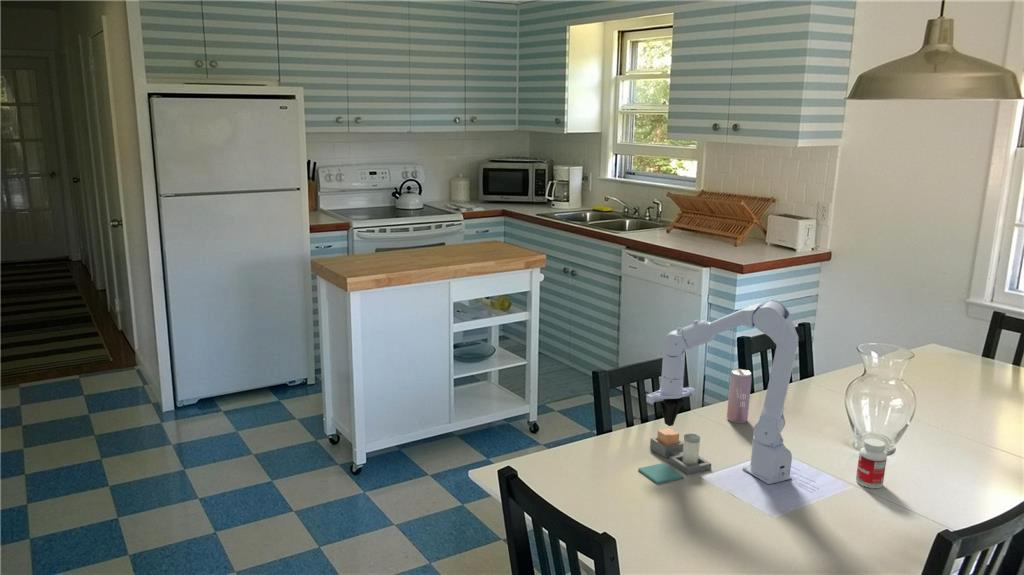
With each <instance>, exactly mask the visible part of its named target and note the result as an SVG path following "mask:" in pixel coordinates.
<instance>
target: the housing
mask: <svg viewBox="0 0 1024 575" xmlns="http://www.w3.org/2000/svg"><path fill="white" fill-rule="evenodd" d="M649 444H650V445H649V448H650V450H651V451H653V452H655V453H656V454H658V455H659V456H661V457H662V458H664V459H667V458H669V460H668V462H669V464H671V465H672V466H674V467H675V468H677V469H679V470H680V471H682V472H684V473H685V474H686V475H691V474H695V473H699V472H704V471H708V470H709V471H710V470H711V469H712V463H711V462H710V461H708V460H706V459H704V458H703V457H701V456H699V458H698V465H693V466H687V465H685V464H684V463H682V457H683V445H684V441H682V440H681V439H679V443H678V444H673V445H668V446H665V445H664V444H662V443H661V442H659V441H657V436H655V437H650V443H649Z"/></svg>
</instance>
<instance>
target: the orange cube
mask: <svg viewBox="0 0 1024 575" xmlns="http://www.w3.org/2000/svg"><path fill="white" fill-rule="evenodd" d="M656 437H657V441H659V442H661V443H662V444H664V445H665V446H668V445H673V444H678V443H679V440H680V433H679V432H677V431H676V430H674V429H672V428H670V427H668V428H663V429H659V430H657V436H656Z"/></svg>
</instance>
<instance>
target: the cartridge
mask: <svg viewBox="0 0 1024 575" xmlns="http://www.w3.org/2000/svg"><path fill="white" fill-rule="evenodd" d="M683 442H684V445H683V457H682V463H684V464H685V465H687V466H693V465H698V458H699V454H700V445H701V443H700V442H701V437H700V436H699V435H698V434H695V433H686V434H684V435H683Z"/></svg>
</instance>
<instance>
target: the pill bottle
mask: <svg viewBox="0 0 1024 575" xmlns="http://www.w3.org/2000/svg"><path fill="white" fill-rule="evenodd" d="M885 449H886V443H885V442H884V441H882V440H879V439H876V438H865V439H864V441H863V447H861V448H860V449H859V453H858V454H859V455H858V460H857V469H856V475H855V476H856V477H855V480H856V482H857V484H859V486H862V487H864V486H865V487H864V488H867V487H869V488H868V489H874V488H876V489H881V488H882V487H883V485H884V481H885V472H886V466H887V459H888V456H887V453H886V452H885Z"/></svg>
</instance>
